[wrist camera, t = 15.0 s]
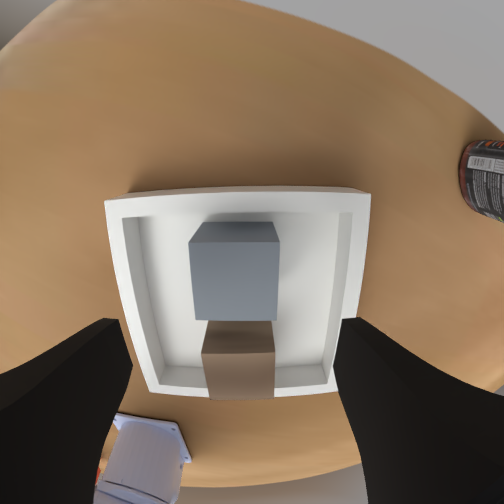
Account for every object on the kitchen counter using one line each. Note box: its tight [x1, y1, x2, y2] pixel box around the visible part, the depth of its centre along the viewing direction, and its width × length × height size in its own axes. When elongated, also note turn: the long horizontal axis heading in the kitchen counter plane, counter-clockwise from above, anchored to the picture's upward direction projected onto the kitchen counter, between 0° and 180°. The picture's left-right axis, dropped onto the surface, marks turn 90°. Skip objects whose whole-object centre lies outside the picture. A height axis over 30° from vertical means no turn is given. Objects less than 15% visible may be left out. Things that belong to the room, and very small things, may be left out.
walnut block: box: [201, 320, 275, 400], centre depth 16 cm, size 4×4×4 cm
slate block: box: [188, 222, 280, 321], centre depth 14 cm, size 4×4×4 cm
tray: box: [104, 186, 371, 397], centre depth 17 cm, size 14×14×3 cm
